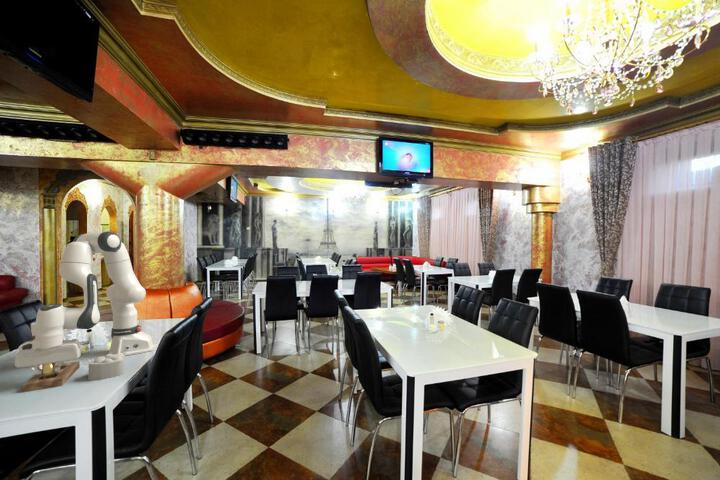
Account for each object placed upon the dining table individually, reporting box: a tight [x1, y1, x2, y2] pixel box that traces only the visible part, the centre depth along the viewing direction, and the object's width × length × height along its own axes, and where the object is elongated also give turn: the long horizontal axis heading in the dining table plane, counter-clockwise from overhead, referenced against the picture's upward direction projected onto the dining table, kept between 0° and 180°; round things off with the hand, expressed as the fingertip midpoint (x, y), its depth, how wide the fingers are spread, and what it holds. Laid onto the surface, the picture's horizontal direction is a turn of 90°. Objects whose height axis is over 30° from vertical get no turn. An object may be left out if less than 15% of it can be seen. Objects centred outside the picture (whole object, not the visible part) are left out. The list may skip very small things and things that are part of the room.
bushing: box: [42, 362, 57, 379], centre depth 130 cm, size 4×4×8 cm
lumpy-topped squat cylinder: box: [87, 353, 126, 381], centre depth 139 cm, size 10×13×9 cm
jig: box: [22, 360, 81, 393], centre depth 134 cm, size 12×22×3 cm, turn 29°
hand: (48, 373), depth 130 cm, fingers closed on bushing, 4 cm apart
